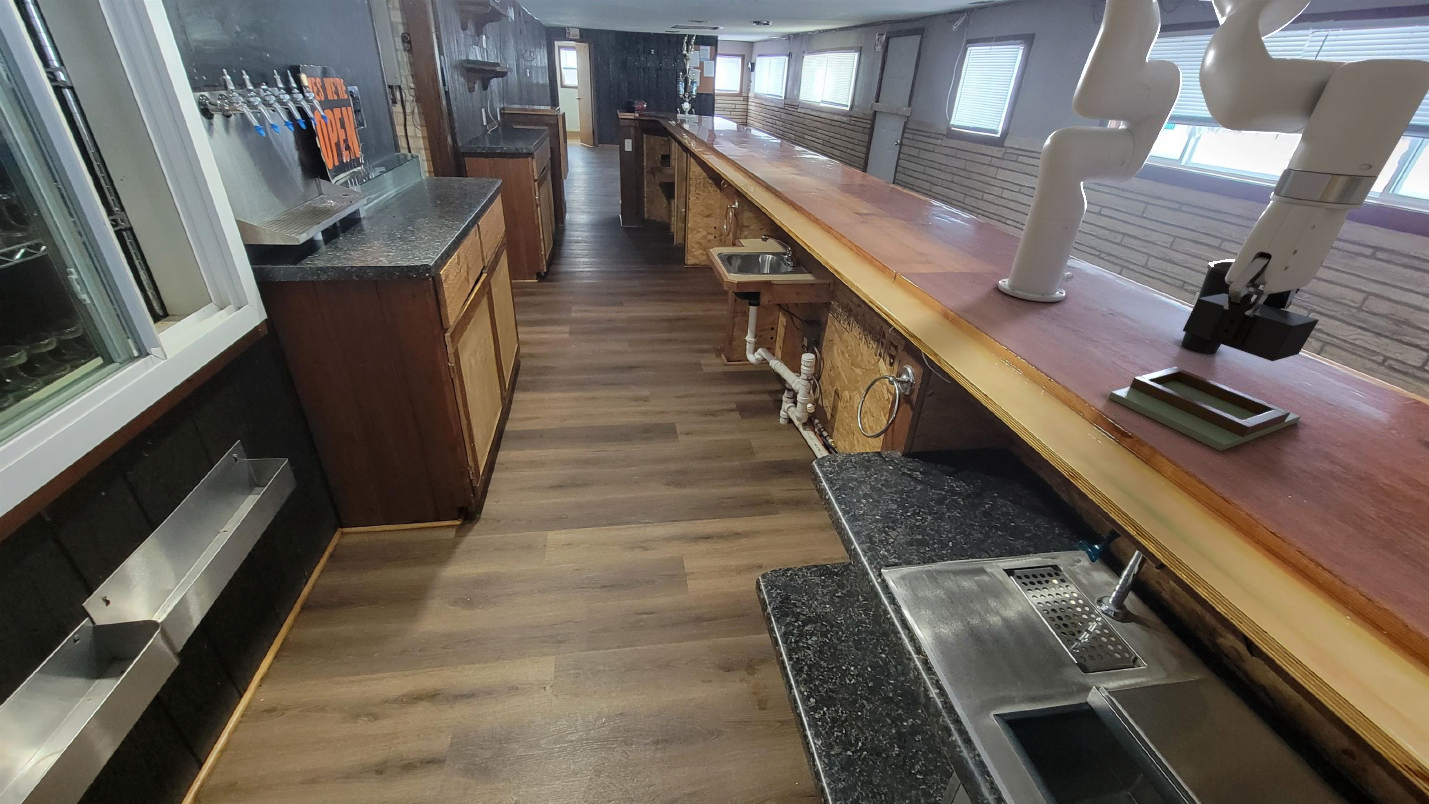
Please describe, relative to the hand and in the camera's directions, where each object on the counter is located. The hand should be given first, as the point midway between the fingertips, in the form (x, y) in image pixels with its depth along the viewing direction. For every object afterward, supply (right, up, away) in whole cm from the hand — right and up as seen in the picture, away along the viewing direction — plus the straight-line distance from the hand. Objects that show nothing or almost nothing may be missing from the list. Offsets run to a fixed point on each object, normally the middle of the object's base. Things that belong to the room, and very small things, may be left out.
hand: (1240, 338), depth 71 cm
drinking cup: (+16, +1, +25) cm, 29 cm away
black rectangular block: (0, 0, 0) cm, 1 cm away
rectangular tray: (0, -9, +5) cm, 11 cm away
